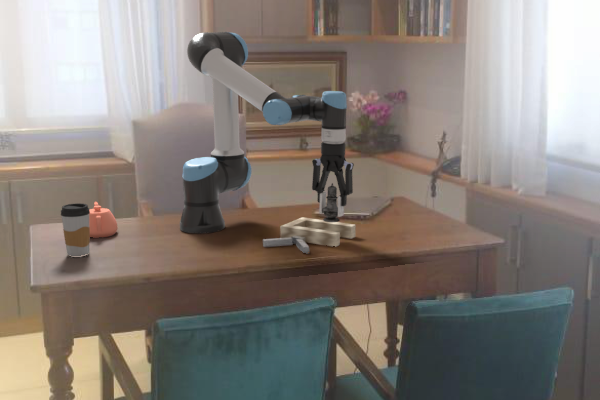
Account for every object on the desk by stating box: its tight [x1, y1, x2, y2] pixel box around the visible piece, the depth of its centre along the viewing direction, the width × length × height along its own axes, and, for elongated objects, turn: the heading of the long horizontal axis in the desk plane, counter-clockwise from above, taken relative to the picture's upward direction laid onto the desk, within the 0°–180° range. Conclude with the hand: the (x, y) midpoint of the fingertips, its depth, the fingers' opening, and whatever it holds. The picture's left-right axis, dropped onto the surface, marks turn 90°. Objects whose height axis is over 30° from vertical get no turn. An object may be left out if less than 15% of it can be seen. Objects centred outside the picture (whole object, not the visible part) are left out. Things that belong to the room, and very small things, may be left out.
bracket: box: [279, 216, 356, 248], centre depth 239 cm, size 20×14×4 cm
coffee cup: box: [60, 202, 91, 256], centre depth 221 cm, size 8×8×15 cm
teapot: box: [89, 201, 119, 239], centre depth 246 cm, size 12×18×10 cm
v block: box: [262, 236, 310, 254], centre depth 229 cm, size 10×17×2 cm, turn 59°
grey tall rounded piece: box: [322, 182, 341, 222], centre depth 234 cm, size 6×6×12 cm
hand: (331, 214), depth 235 cm, fingers closed on grey tall rounded piece, 6 cm apart
